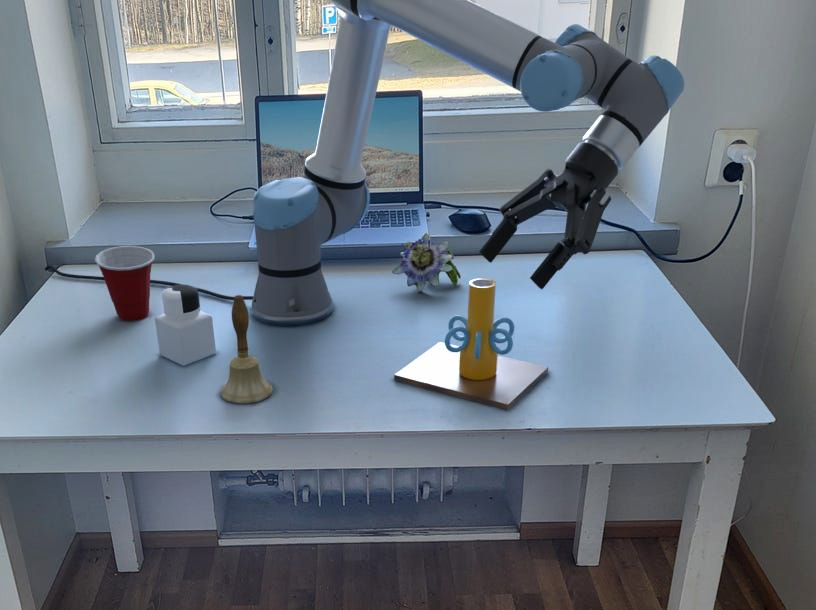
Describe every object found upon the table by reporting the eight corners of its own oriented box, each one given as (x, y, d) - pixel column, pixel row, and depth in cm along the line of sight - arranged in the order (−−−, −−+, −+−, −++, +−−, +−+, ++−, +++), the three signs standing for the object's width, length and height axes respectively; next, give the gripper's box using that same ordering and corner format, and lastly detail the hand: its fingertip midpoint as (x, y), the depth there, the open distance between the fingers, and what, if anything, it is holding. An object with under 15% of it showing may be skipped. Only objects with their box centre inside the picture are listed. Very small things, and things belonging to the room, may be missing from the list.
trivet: (394, 380, 148) (394, 374, 147) (439, 347, 158) (439, 341, 157) (507, 410, 138) (508, 404, 137) (548, 372, 148) (548, 367, 148)
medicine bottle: (192, 342, 163) (184, 277, 157) (217, 353, 159) (209, 287, 152) (159, 355, 159) (149, 289, 153) (183, 367, 155) (174, 299, 148)
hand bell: (224, 381, 150) (214, 287, 141) (275, 380, 149) (267, 286, 141) (217, 404, 143) (206, 308, 134) (270, 403, 142) (262, 306, 134)
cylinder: (509, 391, 141) (516, 299, 133) (441, 388, 143) (444, 296, 135) (512, 358, 151) (518, 270, 143) (448, 355, 153) (451, 268, 145)
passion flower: (420, 316, 184) (385, 272, 178) (422, 287, 192) (389, 244, 186) (468, 288, 178) (433, 242, 172) (468, 260, 186) (435, 215, 180)
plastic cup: (123, 332, 168) (113, 269, 162) (95, 316, 175) (83, 255, 169) (173, 315, 174) (165, 254, 168) (144, 301, 181) (135, 241, 175)
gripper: (669, 190, 130) (572, 310, 133) (561, 155, 149) (478, 260, 152) (646, 157, 126) (546, 281, 128) (537, 125, 145) (452, 234, 148)
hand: (509, 270), depth 140 cm, fingers open, 13 cm apart
